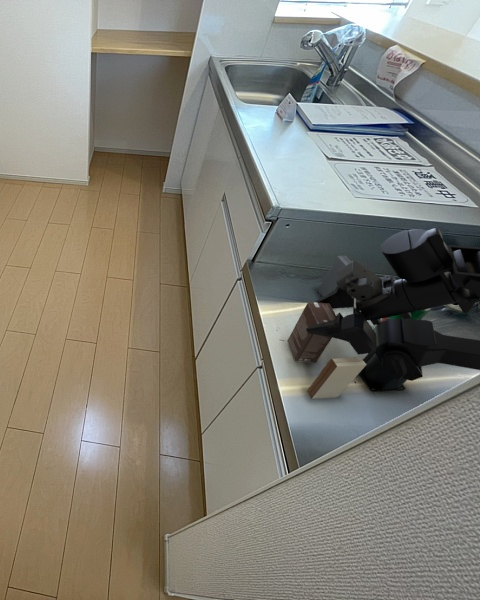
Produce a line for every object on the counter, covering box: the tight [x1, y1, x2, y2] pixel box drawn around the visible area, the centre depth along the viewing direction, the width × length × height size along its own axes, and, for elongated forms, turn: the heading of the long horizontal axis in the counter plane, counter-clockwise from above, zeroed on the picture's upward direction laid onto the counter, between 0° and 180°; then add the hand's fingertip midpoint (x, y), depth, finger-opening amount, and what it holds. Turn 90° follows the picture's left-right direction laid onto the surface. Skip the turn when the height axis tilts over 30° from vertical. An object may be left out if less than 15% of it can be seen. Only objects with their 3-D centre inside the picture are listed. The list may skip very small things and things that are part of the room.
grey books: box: [317, 255, 352, 298], centre depth 83 cm, size 4×2×11 cm, turn 1°
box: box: [287, 301, 337, 363], centre depth 71 cm, size 6×4×12 cm
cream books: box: [306, 356, 366, 400], centre depth 64 cm, size 2×5×11 cm, turn 91°
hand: (308, 318), depth 69 cm, fingers closed on box, 7 cm apart
